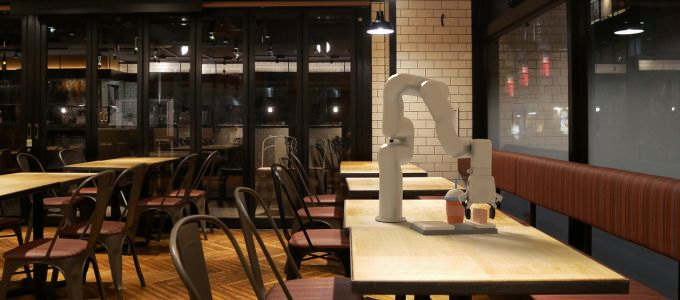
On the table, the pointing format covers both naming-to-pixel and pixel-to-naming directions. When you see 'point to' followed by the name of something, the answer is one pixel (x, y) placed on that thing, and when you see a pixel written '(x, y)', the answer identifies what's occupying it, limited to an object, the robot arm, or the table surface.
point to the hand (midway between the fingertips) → (480, 218)
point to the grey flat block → (448, 228)
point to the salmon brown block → (480, 219)
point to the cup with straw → (454, 205)
